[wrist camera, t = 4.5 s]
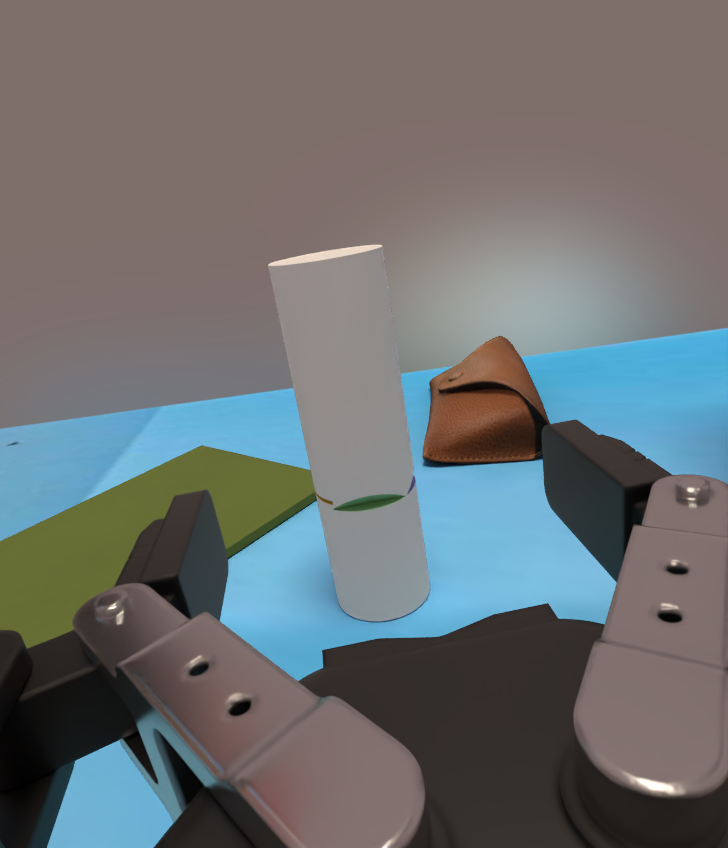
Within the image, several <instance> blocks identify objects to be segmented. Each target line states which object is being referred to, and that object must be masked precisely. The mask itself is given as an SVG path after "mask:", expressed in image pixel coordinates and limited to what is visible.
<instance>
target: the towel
mask: <svg viewBox="0 0 728 848" xmlns="http://www.w3.org/2000/svg"><path fill="white" fill-rule="evenodd" d="M201 490H208V491H209V493H210V495H211V497H212V501H213V504H214V508H215V511H216V515H217V518H218V522H219V526H220V529H221V533H222V537H223V540H224V544H225V548H226V552H227V558H229V557H231V556H232V555H234V554H235V553H237V552H238V551H240V550H241V549H243V548H244V547H246V546H247V545H249V544H250V543H252V542H253V541H255V540H256V539H258V538H259V537H261V536H262V535H264V534H265V533H267V532H268V531H270V530H271V529H273V528H274V527H276V526H277V525H279V524H280V523H282V522H283V521H285V520H286V519H288V518H289V517H291V516H292V515H294V514H295V513H297V512H299V511H300V510H302V509H303V508H305V507H306V506H308V505H309V504H311V503H312V502H314V501H315V500H317V498H316V493H315V488H314V483H313V478H312V474H311V470H307V469H303V468H298V467H294V466H290V465H285V464H281V463H277V462H272V461H268V460H263V459H259V458H255V457H250V456H246V455H241V454H237V453H233V452H228V451H224V450H219V449H215V448H211V447H206V446H199V447H197V448H195V449H193V450H191V451H189V452H187V453H185V454H183V455H181V456H178V457H176V458H174V459H172V460H170V461H168V462H166V463H164V464H162V465H160V466H157V467H155V468H153V469H151V470H149V471H147V472H145V473H143V474H141V475H139V476H136V477H134V478H132V479H130V480H128V481H126V482H124V483H122V484H120V485H118V486H115V487H113V488H111V489H109V490H107V491H105V492H103V493H101V494H99V495H97V496H95V497H92V498H90V499H88V500H86V501H84V502H82V503H80V504H78V505H76V506H74V507H71V508H69V509H67V510H65V511H63V512H61V513H59V514H57V515H55V516H53V517H50V518H48V519H46V520H44V521H42V522H40V523H38V524H36V525H34V526H32V527H29V528H27V529H25V530H23V531H21V532H19V533H17V534H15V535H13V536H11V537H8V538H6V539H4V540H2V541H0V630H13V631H16V632H18V633H19V634H20V635H21V636H22V639H23V641H24V643H25V645H26V648H30V647H32V646H35V645H37V644H40V643H43V642H45V641H48V640H50V639H53V638H55V637H58V636H61V635H63V634H65V633H68V632H70V631H72V630H74V627H73V623H72V621H73V617H74V615H75V613H76V612H77V611H78V609H79V608H80V607H81V606H82V605H83V604H84V603H86V602H87V601H88V600H89V599H91V598H92V597H94V596H96V595H97V594H99V593H101V592H103V591H105V590H107V589H110V588H113V587H114V586H115V584H116V581H117V579H118V577H119V575H120V573H121V571H122V569H123V567H124V565H125V563H126V561H127V560H129V559H128V557H129V555H130V553H131V551H132V549H134V545H135V542H136V540H137V538H138V536H139V534H140V533H141V532H142V531H143V530H144V529H145V528H146V527H148V526H149V525H150V524H151V523H152V522H153V521H154V520H158V519H163V518H165V516H166V514H167V511H168V509H169V507H170V504H171V502H172V500H173V498H174V496H175V495H180V494H185V493H191V492H196V491H201Z"/></svg>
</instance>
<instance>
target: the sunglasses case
mask: <svg viewBox="0 0 728 848" xmlns="http://www.w3.org/2000/svg"><path fill="white" fill-rule="evenodd" d="M429 384H430V388H431V406H430V416H429V423H428V428H427V433H426V437H425V442H424V447H423V459H427V460H430V461H433V462H442V463H460V464H483V463H499V462H516V461H525V460H534V459H536V458H537V457H539V456H540V455H542V454H543V452H542V430H543V427H544V426H545V425H550V423H549V420H548V418H547V415H546V412H545V409H544V407H543V403H542V401H541V399H540V397H539V394H538V392H537V390H536V388H535V386H534V383H533V381H532V379H531V377H530V375H529V373H528V371H527V368H526V366H525V364H524V362H523V361H522V359H521V357H520V356H519V354H518V353H517V351H516V350H515V348H514V347H513V345H512V344H511V343H510V342H509V341H508V339H506V338H504V337H502V336H498V337H496V338H493V339H491V340H489V341H488V342H486V343H485V344H483V345H482V346H480V347H479V348H477V349H476V350H475V351H474V352H472V353H471V354H470V355H469V356H468V357H467V358H465V359H464V360H463V361H462V362H461V363H460V364H458V365H456V366H454V367H452V368H450V369H449V370H447V371H445V372H443V373H441V374H439V375H438V376H436V377H434V378H433V379H432V380H431V381H430V383H429Z"/></svg>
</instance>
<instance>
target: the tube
mask: <svg viewBox="0 0 728 848" xmlns="http://www.w3.org/2000/svg"><path fill="white" fill-rule="evenodd" d="M268 267H269V272H270V276H271V280H272V286H273V290H274V295H275V301H276V305H277V310H278V315H279V319H280V324H281V329H282V334H283V339H284V344H285V349H286V353H287V358H288V363H289V368H290V372H291V378H292V382H293V387H294V392H295V397H296V402H297V407H298V411H299V416H300V421H301V426H302V431H303V435H304V440H305V445H306V450H307V455H308V459H309V464H310V469H311V474H312V478H313V483H314V488H315V493H316V498H317V502H318V507H319V512H320V517H321V521H322V526H323V531H324V536H325V541H326V545H327V550H328V555H329V560H330V564H331V569H332V574H333V579H334V584H335V588H336V593H337V598H338V602H339V605H340V607H341V608H342V610H343V611H345V612H346V613H347V614H348V615H350V616H352V617H354V618H357V619H360V620H365V621H387V620H392V619H396V618H400V617H402V616H405V615H407V614H409V613H411V612H413V611H414V610H416V609H417V608H418V607H419V606H421V605H422V604H423V603H424V601H425V600H426V599H427V597H428V595H429V592H430V581H429V574H428V567H427V560H426V553H425V546H424V539H423V531H422V524H421V517H420V510H419V503H418V496H417V489H416V481H415V477H414V475H413V474H414V466H413V459H412V452H411V444H410V437H409V430H408V423H407V416H406V409H405V402H404V395H403V388H402V381H401V374H400V367H399V360H398V353H397V346H396V338H395V331H394V325H393V317H392V311H391V303H390V297H389V289H388V282H387V276H386V268H385V261H384V254H383V247H382V245H366V246H357V247H349V248H342V249H336V250H329V251H323V252H318V253H312V254H307V255H302V256H297V257H292V258H288V259H283V260H279V261H276V262H273V263H270V264H269V265H268Z"/></svg>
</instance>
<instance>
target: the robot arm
mask: <svg viewBox="0 0 728 848" xmlns="http://www.w3.org/2000/svg"><path fill="white" fill-rule="evenodd" d="M542 452H543V470H544V487H545V493H546V496H547V500H548V502H549V505H550V507H551V508H552V510H553V511H554V512H555V513H556V515H557V516H558V517H559V518H560V519H561V520H562V521H563V522H564V524H565V525H566V526H567V527H568V528H569V529H570V530H571V531H572V533H573V534H574V535H575V536H576V537H577V538H578V539H579V540H580V542H581V543H582V544H583V545H584V546H585V547H586V548H587V549H588V551H589V552H590V553H591V554H592V555H593V556H594V557H595V558H596V560H597V561H598V562H599V563H600V564H601V565H602V566H603V567H604V569H605V570H606V571H607V572H608V573H609V574H610V575H611V576H612V578H613V579H614V580H615V581H616V582H617V584H616V588H615V591H614V595H613V598H612V602H611V605H610V609H609V612H608V616H607V619H606V623H605V625H604V624H600V623H596V622H590V621H584V620H574V619H558V618H557V616H556V615H555V613H554V612H553V610H552V609H551V607H550V606H549V604H548V603H547V604H543V605H538V606H533V607H528V608H523V609H518V610H514V611H509V612H504V613H499V614H494V615H492V616H489V617H487V618H484V619H482V620H480V621H477V622H475V623H473V624H470V625H468V626H465V627H463V628H461V629H458V630H456V631H454V632H451V633H449V634H446V635H444V636H440V637H426V638H383V639H374V640H370V641H365V642H360V643H355V644H350V645H346V646H341V647H336V648H331V649H326V650H322V653H323V668H322V669H320V670H318V671H315V672H313V673H312V674H310V675H308V676H306V677H304V678H302V679H301V680H299V681H296V680H295V679H294V678H293V677H291V676H290V675H289V674H287V673H286V672H285V671H283V670H282V669H281V668H280V667H278V666H277V665H276V664H274V663H273V662H272V661H270V660H269V659H268V658H267V657H265V656H264V655H263V654H261V653H260V652H259V651H257V650H256V649H255V648H254V647H252V646H251V645H250V644H248V643H247V642H246V641H244V640H243V639H242V638H241V637H239V636H238V635H237V634H235V633H234V632H233V631H231V630H230V629H229V628H228V627H226V626H225V625H224V624H222V623H221V622H220V616H221V610H222V605H223V599H224V594H225V588H226V583H227V577H228V558H227V552H226V548H225V544H224V540H223V537H222V533H221V529H220V526H219V522H218V518H217V515H216V511H215V508H214V504H213V501H212V497H211V495H210V493H209V491H208V490H201V491H196V492H191V493H185V494H180V495H175V496H174V498H173V500H172V502H171V504H170V507H169V509H168V511H167V514H166V516H165V518H163V519H158V520H154V521H153V522H152V523H151V524H150V525H149V526H148V527H146V528H145V529H144V530H143V531H142V532H141V533H140V534H139V536H138V538H137V540H136V542H135V545H134V549H132V551H131V553H130V555H129V557H128V559H129V560H127V561H126V563H125V565H124V567H123V569H122V571H121V573H120V575H119V577H118V579H117V581H116V584H115V586H114V587H113V588H110V589H107V590H105V591H103V592H101V593H99V594H97V595H96V596H94V597H92V598H91V599H89V600H88V601H87V602H86V603H84V604H83V605H82V606H81V607H80V608H79V609H78V611H77V612H76V613H75V615H74V617H73V621H72V623H73V627H74V630H72V631H70V632H68V633H65V634H63V635H61V636H58V637H55V638H53V639H50V640H48V641H45V642H43V643H40V644H37V645H35V646H32V647H30V648H26V645H25V643H24V641H23V639H22V636H21V635H20V634H19V633H18V632H16V631H13V630H0V848H47V845H48V842H49V839H50V836H51V833H52V830H53V827H54V824H55V821H56V818H57V815H58V812H59V809H60V806H61V803H62V800H63V797H64V795H65V792H66V789H67V786H68V783H69V780H70V777H71V774H72V771H73V767H74V763H75V760H77V759H80V758H82V757H84V756H86V755H88V754H90V753H92V752H94V751H97V750H99V749H101V748H103V747H105V746H107V745H109V744H112V743H114V742H116V741H118V740H119V741H120V744H121V746H122V747H123V749H124V750H125V752H126V753H127V754H128V756H129V757H130V759H131V760H132V761H133V763H134V764H135V766H136V767H137V768H138V770H139V771H140V772H141V774H142V775H143V777H144V778H145V779H146V781H147V782H148V784H149V785H150V786H151V788H152V789H153V791H154V792H155V793H156V795H157V796H158V798H159V799H160V800H161V802H162V803H163V805H164V806H165V808H166V809H167V811H168V813H169V815H170V816H171V818H172V820H173V822H174V823H173V824H172V826H171V827H170V828H169V829H168V831H167V832H166V833H165V834H164V836H163V837H162V838H161V839H160V840H159V842H158V843H157V844H156V845H155V847H154V848H728V485H727V484H726V483H724V482H722V481H720V480H717V479H714V478H710V477H706V476H700V475H672V474H670V473H669V472H667V471H666V470H664V469H663V468H661V467H660V466H658V465H657V464H656V463H654V462H653V461H651V460H650V459H646V457H645V456H644V455H642V454H641V453H639V452H638V451H637V452H635V449H633V448H632V447H630V446H629V445H627V444H626V443H624V442H623V441H621V440H618V439H615V438H612V437H608V436H605V435H597V434H596V433H595V432H593V431H592V430H590V429H589V428H588V427H586V426H585V425H583V424H582V423H581V422H579V421H578V420H571V421H565V422H560V423H555V424H550V425H545V426H544V427H543V430H542Z"/></svg>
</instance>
